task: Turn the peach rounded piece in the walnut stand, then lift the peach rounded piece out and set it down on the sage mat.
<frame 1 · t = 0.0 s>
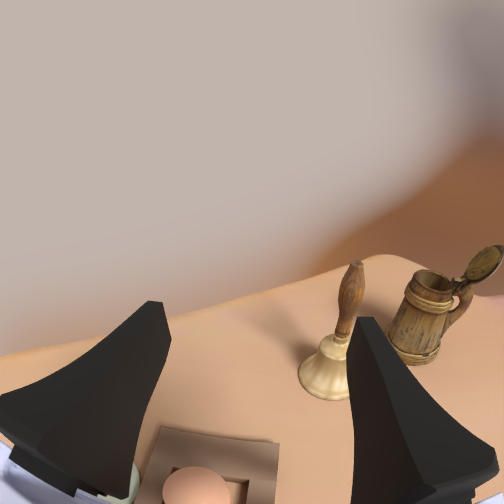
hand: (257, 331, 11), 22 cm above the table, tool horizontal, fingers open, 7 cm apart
wooden mug: (423, 348, 38), on the table
hand bell: (330, 376, 35), on the table
sage mat: (98, 478, 20), on the table
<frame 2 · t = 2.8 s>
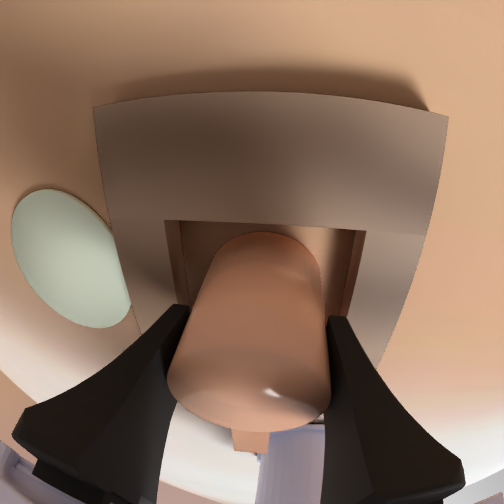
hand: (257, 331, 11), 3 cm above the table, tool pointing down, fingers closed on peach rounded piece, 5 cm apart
peach rounded piece: (264, 282, 13), resting in walnut stand, touching gripper
sage mat: (65, 264, 15), on the table
walnut stand: (264, 282, 13), on the table
when the fingers open (5 cm above the table, at t = 11.8 s): peach rounded piece stays where it is, resting on sage mat.
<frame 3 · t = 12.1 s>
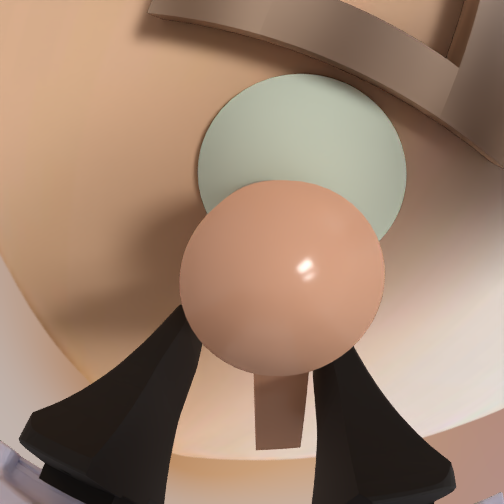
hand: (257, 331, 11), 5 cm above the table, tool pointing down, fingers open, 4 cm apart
peach rounded piece: (268, 239, 13), point 1 cm above the table, tilted 19°, touching gripper, sage mat
sage mat: (303, 179, 12), on the table
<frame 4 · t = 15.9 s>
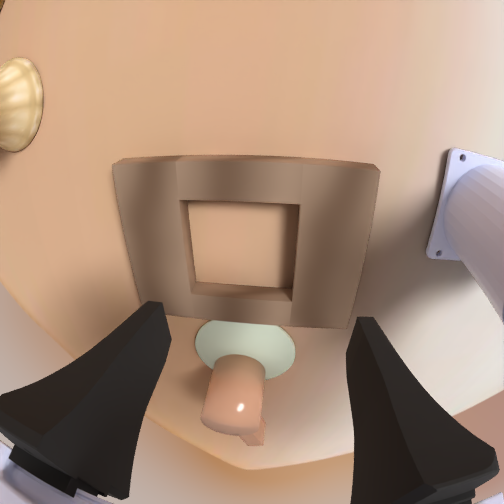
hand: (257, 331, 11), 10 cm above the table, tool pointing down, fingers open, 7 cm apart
hand bell: (15, 104, 16), on the table
peach rounded piece: (239, 370, 27), resting on sage mat
sage mat: (244, 350, 26), on the table
walnut stand: (242, 242, 21), on the table
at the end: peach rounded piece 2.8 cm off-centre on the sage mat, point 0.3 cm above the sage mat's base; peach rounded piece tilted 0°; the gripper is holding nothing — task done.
